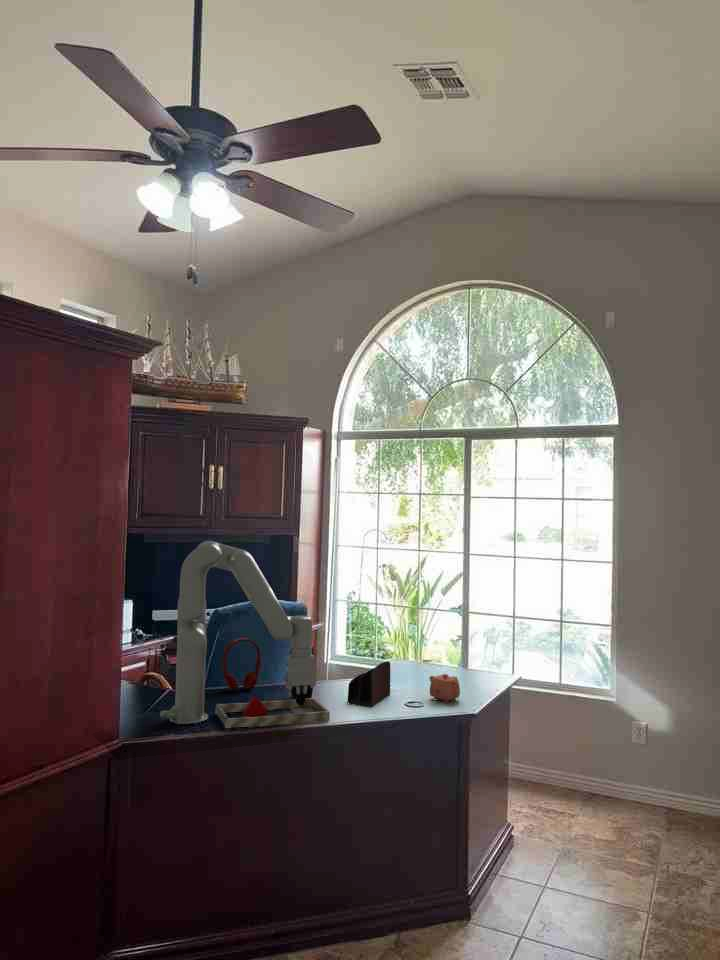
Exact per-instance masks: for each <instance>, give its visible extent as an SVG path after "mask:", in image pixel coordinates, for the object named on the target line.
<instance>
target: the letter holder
mask: <svg viewBox="0 0 720 960" xmlns="http://www.w3.org/2000/svg"><path fill="white" fill-rule="evenodd" d="M347 689H348V690H347V704H348V703H349V704H348V705H352V704H355V705H354V706H359V705H360V706H361V707H366V708H367V707H368V708H373V707H374V706H376V705H377V704H378V703H380V702H382V701H383V700H385V699H386V698H387V697H389V696H390V695H391V662H390V661H389V660H388V661H383V662H381V663H379V664H377V665H376V666H375V667H373V668H371V669H369V670H367V671H366V672H363V673H360V674H358V675H356V676H355V677H354V678H352V680H350V681H349V683H348V688H347ZM384 698H385V699H384ZM360 706H359V707H360Z"/></svg>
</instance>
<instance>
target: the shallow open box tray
mask: <svg viewBox="0 0 720 960" xmlns="http://www.w3.org/2000/svg"><path fill="white" fill-rule="evenodd" d="M249 703H250V702H243V703H242V702H241V703H238V702H234V703H232V702H231V703H216V704H215V715H216V714H217V715H218V717H219V718H220V720H221V721H222V723H223V724H224V726H225V728H231V727H248V728H257V726H259V727H268V726H279V725H280V726H282V725H292V724H303V723H304V722H305V723H314V721H317V722H327V720H329V721H330V715H331V714H330V710H329V709H327V708H326V707H325V706H324V705H323V704H321V702H320V701H318V700H317V699H316V698H315V697H312V698H305V702H304V706H302V705H301V706H299V705H298V704H297V703H296V699H284V700H283V699H282V700H280V699H279V700H269V701H261V703H262V704H263V705H264V707H265V708H266V710H269V711H273V710H272V709H282V710H286V709H285V708H288V709H287V710H288V711H290V713H289V714H287V713H286V714H274V715H268V716H261V717H242V716H241V717H240V716H239V717H231V718H229V717H228V714H225V712H226V713H227V712H242V711H245V710H246V709H247V707H248V705H249ZM217 715H216V716H217ZM218 717H217V718H218ZM220 720H219V721H220ZM325 720H326V721H325ZM222 723H221V724H222ZM305 723H304V724H305ZM224 726H223V727H224ZM255 726H256V727H255ZM225 728H224V729H225Z"/></svg>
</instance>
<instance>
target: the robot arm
mask: <svg viewBox="0 0 720 960" xmlns="http://www.w3.org/2000/svg"><path fill="white" fill-rule="evenodd" d="M211 568H216V569H220V570H221V569H222V570H224V571H230V572H232V574H233V576H234V577H235V579H236V580H237V582H238V584H239V586H240V587H241V589H242V591H243V592H244V594H245V595H246V598H247V599H248V601H249V602H250V604H251V605H252V607H253V608H254V609H255V610H256V612H257V613H258V614H259V616H260V617H261V619H262V621H263V622H264V624H265V626H266V627H267V629H268V631H269V633H270V635H271V636H272V638H273V639H275V640H276V641H278V642H286V641H287V640H290V645H289V646H290V647H289V648H288V649H285V650H286V654H289V655H288V657H287V662H286V668H285V669H286V671H285V689H286V690H290V691H291V690H293V691H294V692H295V693H296V703H297V704H298V705H299V706H301V705H302V706H304V702H305V699H306V698H305V694H306V693H307V691H308V690H309V689H310V688H312V687H313V688H315V687H316V684H317V666H316V659H315V654H314V655H312V647H313V618H312V617H311V616H309V615H294V616H291V615H287V614H286V612H285V611H284V609H283V607H282V606H281V604H280V602H279V600H278V599H277V596H276V595H275V592H274V591H273V588H272V587H271V585H270V584H269V583H268V580H267V579H266V577H265V576H264V574H263V572H262V570H261V569H260V567H259V565H258V564H257V562H256V561H255V559H254V557H253V555H252V554H251V553H250V552H248V550H245V549H242V548H237V547H233V546H230V545H227V544H223V543H220V542H216V541H213V540H205V541H203V542H201V543H200V544H198V545H197V547H196V548H195V549H194V550H192V551H191V552H190V553H189V554H188V555H187V556H186V558H185V559H184V561H183V562H182V566H181V570H180V576H179V577H180V579H179V597H178V601H177V626H176V627H177V631H176V634H177V635H176V637H177V639H176V665H175V666H176V667H175V669H176V670H175V675H176V676H175V699H174V705H172V706H171V707H172V708H170V709H169V710H160V713H159V715H160V717H161V718H166V717H167V719H168V718H169V721H170V723H172V722H174V723H177V724H176V725H179V724H189V723H197V722H202V721H205V720H207V719H208V720H209V715H208V713H205V691H206V690H205V687H206V686H205V685H206V660H207V648H208V647H207V643H208V639H207V638H208V637H207V633H206V611H207V601H206V600H207V599H206V597H207V596H206V585H207V574H208V572H209V570H210V569H211ZM299 686H302V688H301V692H300V688H299ZM208 720H207V721H208ZM174 723H173V724H174Z"/></svg>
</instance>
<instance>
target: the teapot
mask: <svg viewBox="0 0 720 960" xmlns="http://www.w3.org/2000/svg"><path fill="white" fill-rule="evenodd" d="M429 682H430V685H429V695H430V697H433V699H436V700H435V701H439V700H442V703H444V702H448V703H449V701H452V700H455V701H456V699H458V698H459V697H460V694H461V689H460V683H459V678H458V677H457V676H454V675H453V676H449V674H448V673H443V674H441V675H436V676H434V675H430V676H429Z"/></svg>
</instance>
